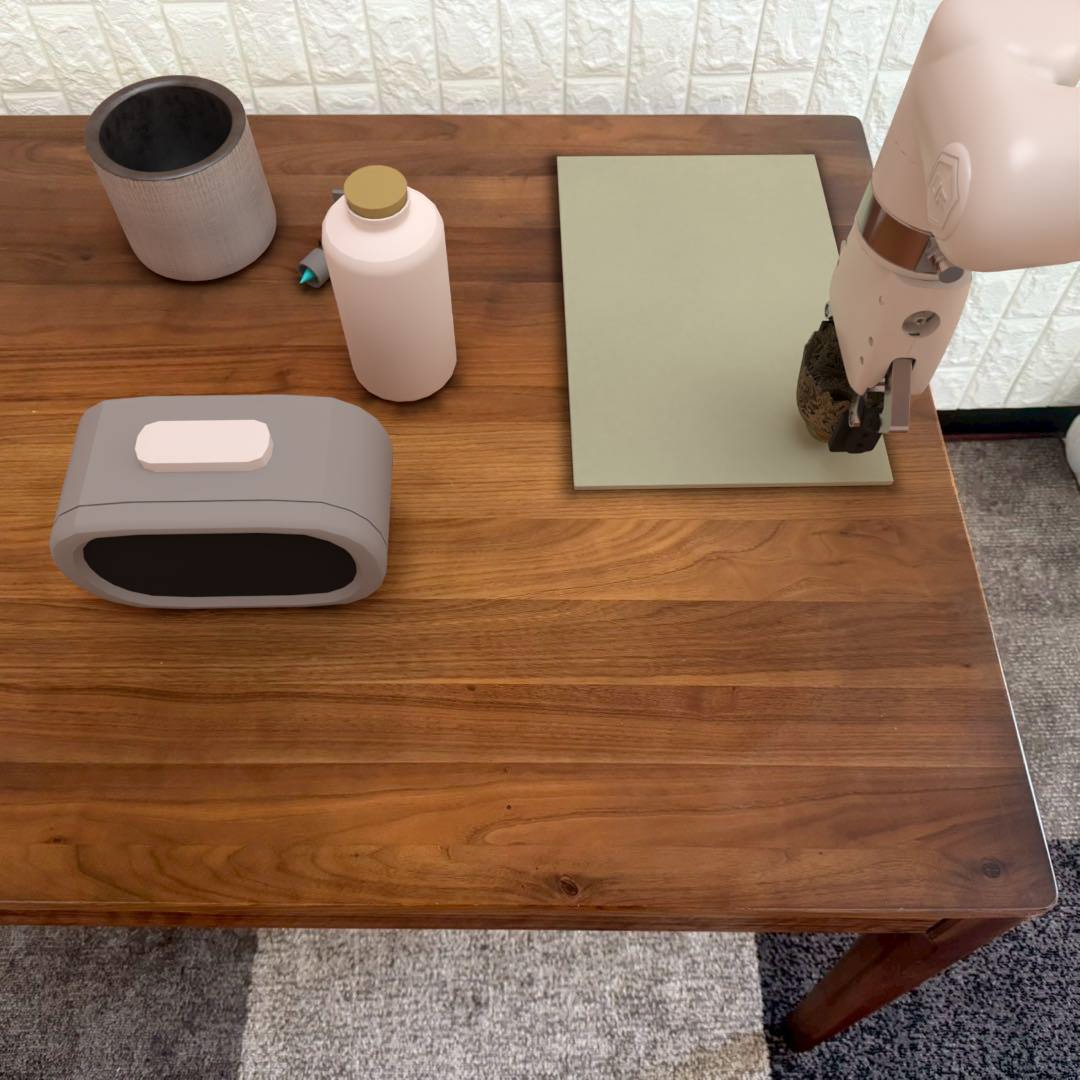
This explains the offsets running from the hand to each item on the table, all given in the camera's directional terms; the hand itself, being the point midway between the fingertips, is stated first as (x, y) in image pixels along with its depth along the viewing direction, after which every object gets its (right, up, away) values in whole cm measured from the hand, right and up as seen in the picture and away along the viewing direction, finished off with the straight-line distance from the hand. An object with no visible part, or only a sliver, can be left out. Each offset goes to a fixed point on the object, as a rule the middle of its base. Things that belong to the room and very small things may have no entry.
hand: (839, 401), depth 70 cm
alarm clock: (-42, -11, -1) cm, 44 cm away
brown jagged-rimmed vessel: (0, -2, +3) cm, 3 cm away
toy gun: (-36, +13, +12) cm, 40 cm away
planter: (-51, +17, +14) cm, 56 cm away
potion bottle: (-33, +4, +7) cm, 34 cm away
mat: (-8, +10, +10) cm, 16 cm away
